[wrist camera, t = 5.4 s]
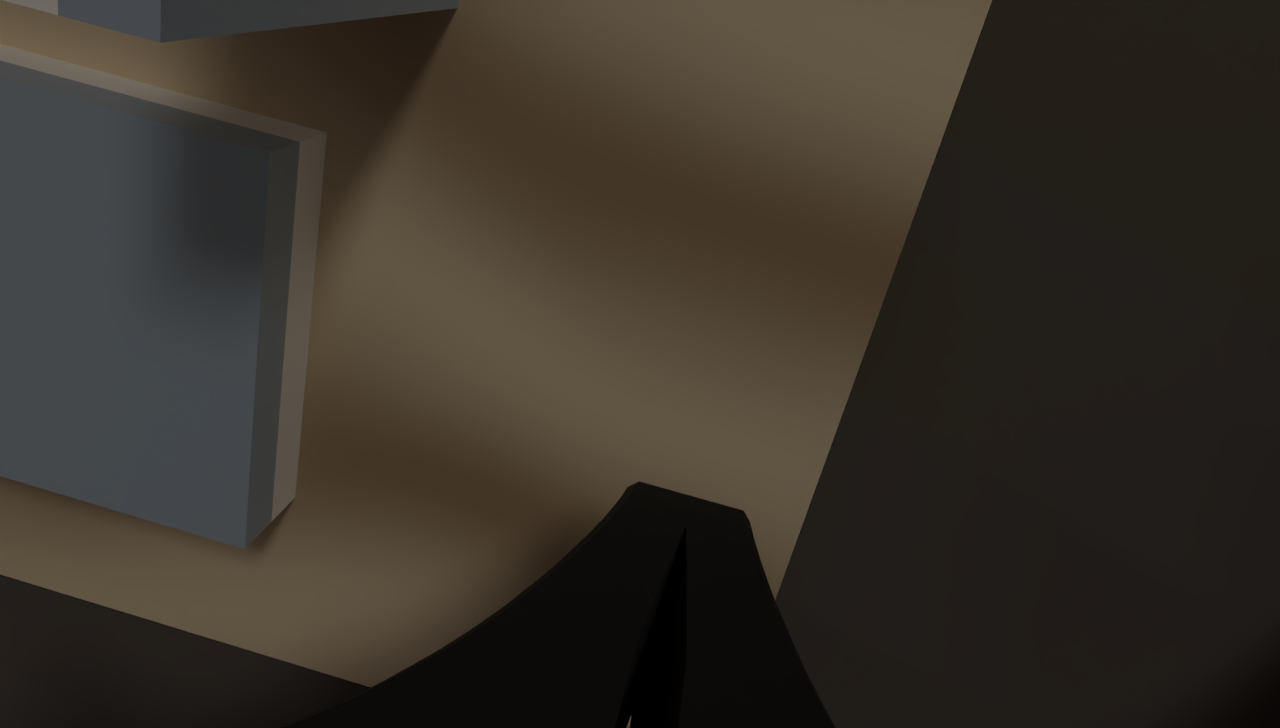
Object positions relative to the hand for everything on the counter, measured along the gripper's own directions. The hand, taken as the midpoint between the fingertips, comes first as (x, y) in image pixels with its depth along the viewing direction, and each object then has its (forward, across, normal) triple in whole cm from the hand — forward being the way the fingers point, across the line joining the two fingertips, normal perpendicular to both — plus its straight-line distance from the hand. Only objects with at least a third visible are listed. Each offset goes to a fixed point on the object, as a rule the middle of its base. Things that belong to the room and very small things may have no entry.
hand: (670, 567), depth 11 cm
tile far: (+2, +6, 0) cm, 6 cm away
